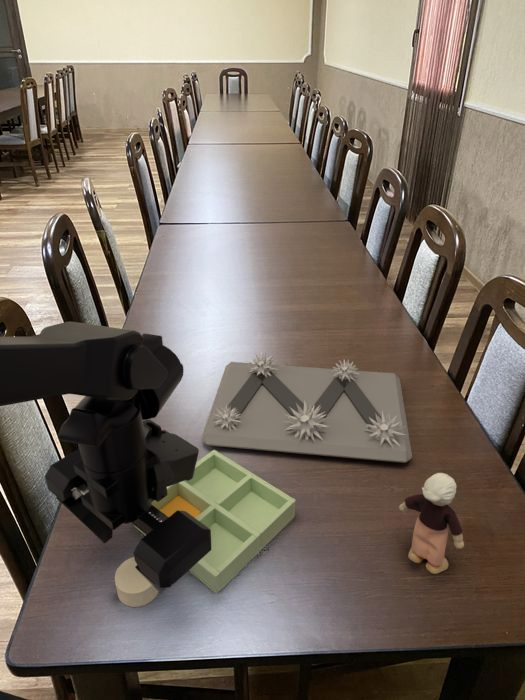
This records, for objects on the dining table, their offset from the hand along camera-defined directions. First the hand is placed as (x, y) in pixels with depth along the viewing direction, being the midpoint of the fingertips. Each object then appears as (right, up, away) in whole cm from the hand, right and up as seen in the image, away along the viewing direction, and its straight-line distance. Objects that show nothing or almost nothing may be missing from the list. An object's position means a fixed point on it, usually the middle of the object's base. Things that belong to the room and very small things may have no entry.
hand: (134, 563), depth 57 cm
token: (0, -4, +2) cm, 4 cm away
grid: (+8, +1, +10) cm, 13 cm away
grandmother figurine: (+32, -2, +6) cm, 33 cm away
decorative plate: (+21, +12, +29) cm, 38 cm away
